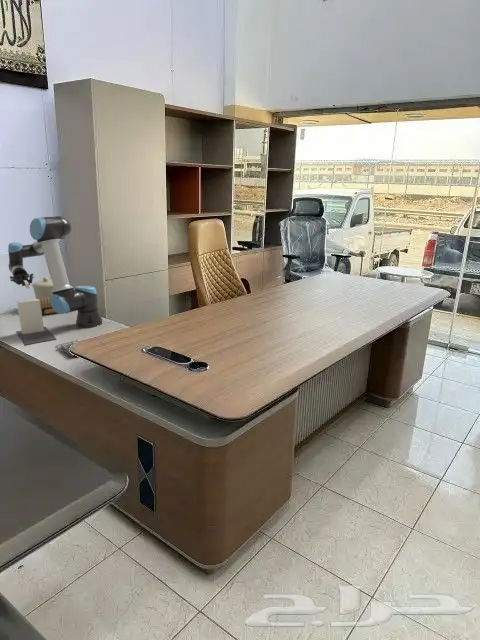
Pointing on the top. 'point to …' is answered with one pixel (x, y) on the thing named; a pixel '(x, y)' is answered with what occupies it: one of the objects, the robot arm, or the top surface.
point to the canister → (43, 289)
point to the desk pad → (36, 337)
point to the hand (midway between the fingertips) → (27, 286)
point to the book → (30, 316)
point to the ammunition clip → (47, 306)
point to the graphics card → (65, 347)
